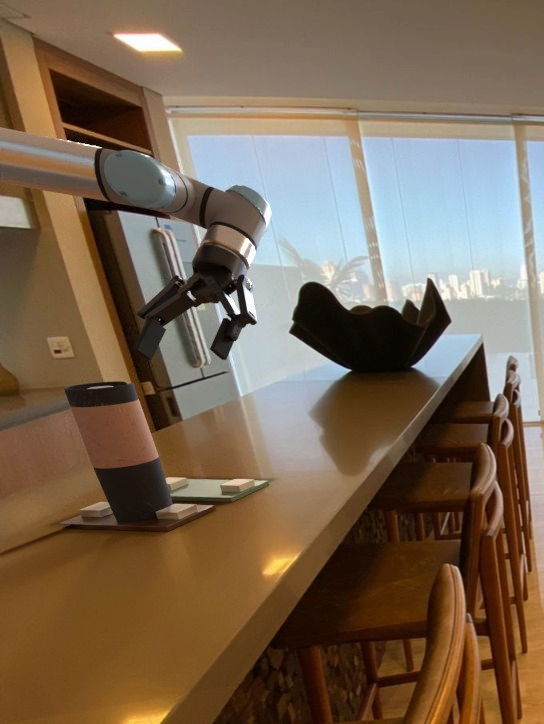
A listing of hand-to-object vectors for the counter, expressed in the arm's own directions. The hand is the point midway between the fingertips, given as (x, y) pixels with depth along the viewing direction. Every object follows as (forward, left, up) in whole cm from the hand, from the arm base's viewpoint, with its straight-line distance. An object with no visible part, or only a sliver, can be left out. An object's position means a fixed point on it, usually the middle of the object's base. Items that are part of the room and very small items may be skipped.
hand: (179, 354), depth 94 cm
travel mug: (0, -15, -23) cm, 27 cm away
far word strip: (-1, -2, -23) cm, 24 cm away
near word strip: (-1, -15, -23) cm, 28 cm away
